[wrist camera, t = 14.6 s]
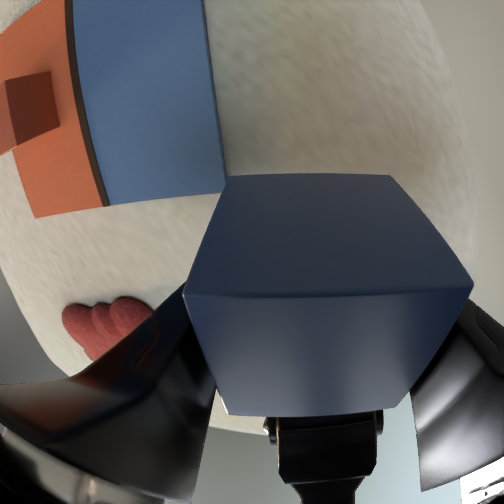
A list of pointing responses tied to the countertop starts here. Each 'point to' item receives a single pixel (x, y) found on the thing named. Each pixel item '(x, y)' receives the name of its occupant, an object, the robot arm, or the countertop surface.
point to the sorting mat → (117, 103)
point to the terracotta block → (26, 109)
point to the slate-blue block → (320, 294)
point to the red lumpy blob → (103, 324)
